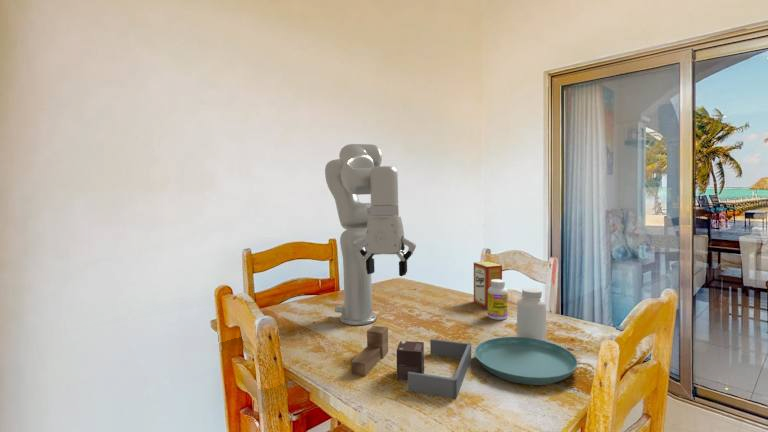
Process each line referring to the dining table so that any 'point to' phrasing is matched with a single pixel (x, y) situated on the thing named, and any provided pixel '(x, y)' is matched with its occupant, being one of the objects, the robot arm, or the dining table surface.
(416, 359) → the box
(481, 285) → the baking soda box
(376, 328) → the brown l-shaped block
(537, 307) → the pill bottle
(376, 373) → the dining table surface
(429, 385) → the open-sided frame
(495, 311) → the supplement bottle
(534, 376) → the teal plate
